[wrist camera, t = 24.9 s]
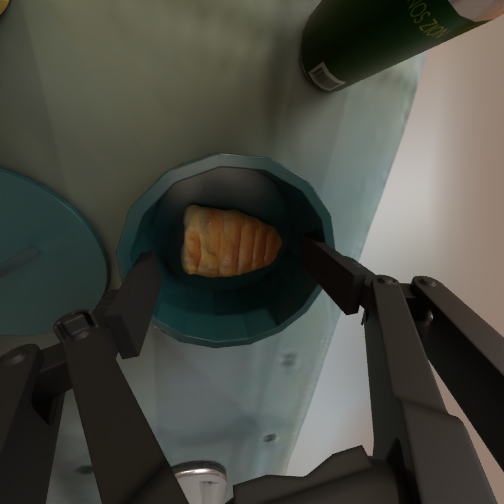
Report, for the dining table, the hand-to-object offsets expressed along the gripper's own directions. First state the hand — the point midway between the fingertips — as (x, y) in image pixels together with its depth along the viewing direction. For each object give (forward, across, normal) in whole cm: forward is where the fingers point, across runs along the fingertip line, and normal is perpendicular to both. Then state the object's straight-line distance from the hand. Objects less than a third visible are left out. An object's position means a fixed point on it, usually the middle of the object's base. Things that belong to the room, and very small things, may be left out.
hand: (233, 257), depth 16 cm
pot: (+5, 0, 0) cm, 5 cm away
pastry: (+5, 0, 0) cm, 5 cm away
